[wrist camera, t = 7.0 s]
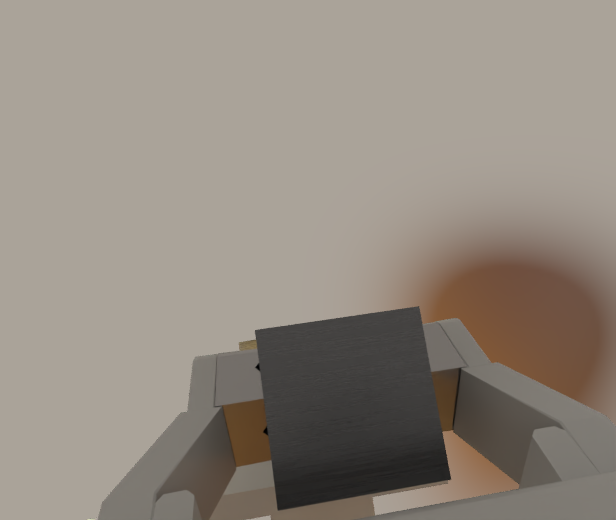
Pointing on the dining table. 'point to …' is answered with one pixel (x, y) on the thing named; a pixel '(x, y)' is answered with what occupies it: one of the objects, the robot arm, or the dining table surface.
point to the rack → (262, 502)
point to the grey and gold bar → (349, 407)
